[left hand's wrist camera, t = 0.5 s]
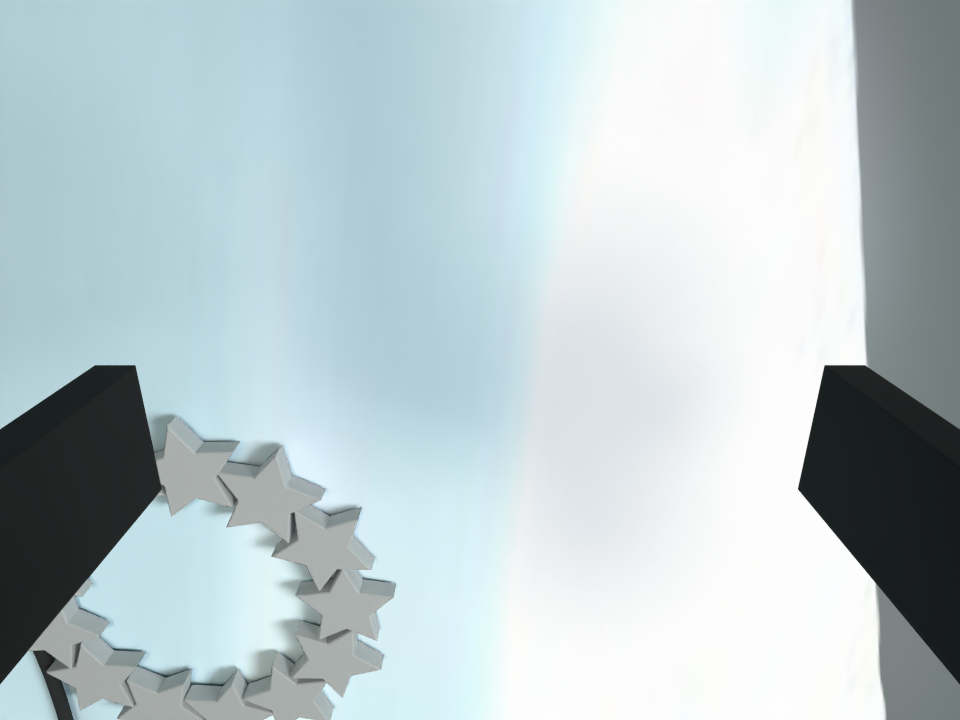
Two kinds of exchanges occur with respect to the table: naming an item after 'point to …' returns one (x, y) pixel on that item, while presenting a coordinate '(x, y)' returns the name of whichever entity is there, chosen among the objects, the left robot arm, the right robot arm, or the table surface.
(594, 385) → the table surface
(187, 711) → the decorative wreath
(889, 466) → the left robot arm
